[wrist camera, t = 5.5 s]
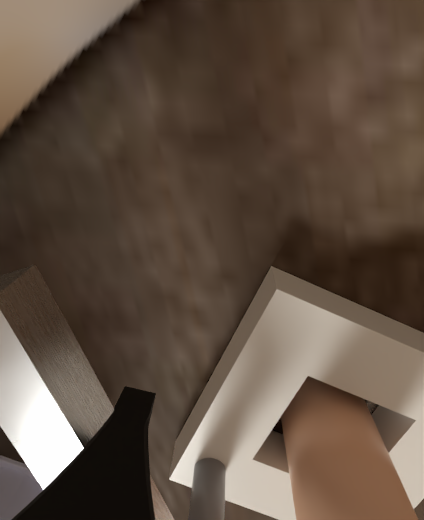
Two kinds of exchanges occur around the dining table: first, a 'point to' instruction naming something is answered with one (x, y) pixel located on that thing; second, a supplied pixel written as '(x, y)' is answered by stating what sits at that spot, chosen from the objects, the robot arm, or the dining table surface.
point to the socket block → (285, 388)
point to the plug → (339, 459)
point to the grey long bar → (47, 382)
